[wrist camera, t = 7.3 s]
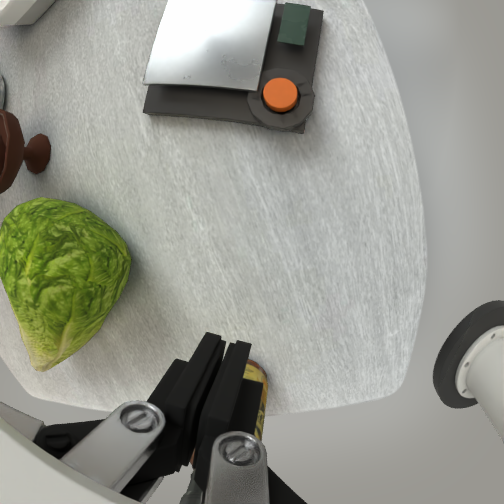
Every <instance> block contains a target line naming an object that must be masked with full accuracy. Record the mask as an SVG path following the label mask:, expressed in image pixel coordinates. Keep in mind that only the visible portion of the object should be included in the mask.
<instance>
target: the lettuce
mask: <svg viewBox="0 0 504 504" xmlns="http://www.w3.org/2000/svg"><path fill="white" fill-rule="evenodd" d="M131 260H132V259H131V256H130V254H129V251H128V248H127V245H126V243H125V242H124V240H123V239H122V238H121V237H120V235H119V234H118V233H117V232H116V231H115V230H114V229H113V228H111V227H110V226H109V225H108V224H106V223H105V222H104V221H103V220H102V219H100V218H99V217H98V216H96V215H95V214H94V213H92V212H91V211H89V210H87V209H85V208H83V207H81V206H79V205H77V204H75V203H71V202H66V201H62V200H57V199H50V198H43V197H40V198H36V199H33V200H30V201H28V202H25V203H22V204H20V205H17V206H16V207H15V208H14V209H13V210H12V211H11V212H10V213H9V214H8V215H7V216H6V217H5V218H4V221H3V223H2V226H1V229H0V277H1V280H2V283H3V285H4V288H5V290H6V292H7V295H8V298H9V301H10V304H11V307H12V309H13V312H14V314H15V317H16V319H17V321H18V324H19V328H20V333H21V338H22V340H23V342H24V344H25V346H26V349H27V351H28V354H29V357H30V361H31V365H32V366H33V367H34V369H35V370H37V371H41V372H44V371H47V370H49V369H50V368H52V367H54V366H55V365H57V364H59V363H60V362H62V361H64V360H65V359H67V358H68V357H70V356H71V355H72V354H74V353H75V352H76V351H78V350H79V349H80V348H81V347H82V346H84V345H85V344H86V343H87V342H88V341H89V340H90V339H91V338H92V337H93V336H94V335H95V334H96V333H97V332H98V330H99V329H100V328H101V326H102V324H103V322H104V320H105V318H106V316H107V315H108V313H109V311H110V310H111V308H112V307H113V306H114V304H115V303H116V301H117V300H118V299H119V297H120V296H121V294H122V291H123V289H124V287H125V285H126V283H127V281H128V276H129V271H130V265H131Z"/></svg>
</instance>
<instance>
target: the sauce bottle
mask: <svg viewBox="0 0 504 504" xmlns="http://www.w3.org/2000/svg"><path fill="white" fill-rule="evenodd" d="M243 378H246V379H250V380H254V381H258V382H263V383H264V385H263V391H262V396H261V402H260V407H259V413H258V418H257V423H256V428H255V434H254V436H255V437H256V438H258V439H259V440H260V441H262V432H263V424H264V417H265V408H266V400H267V391H268V383H267V375H266V373H265V371H264V370H263V368H262V367H260V366H259V365H258V364H257V363H256V362H254V361H252V360H249V359H248V361H247V364H246V368H245V372H244V376H243ZM194 452H195V450H194ZM194 452H193V455H192V457H191V460H190V463H191V464H192V465H193V459H194ZM193 470H194V471H193V473H192V474H191V481H190V484H189V486H188V489H187V492H186V493H185V494H184V495H183V497H182V498H181V501H180V504H200V503H201V495H202V490H201V489H200V488H199V486H198V485H197V484H196V482H195V481H194V475H195V469H193Z"/></svg>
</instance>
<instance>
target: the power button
mask: <svg viewBox="0 0 504 504" xmlns="http://www.w3.org/2000/svg"><path fill="white" fill-rule="evenodd" d="M263 95H264V99H265V102H266V104H267V106H268V107H269V108H270V109H272V110H274V111H277V112H286V111H288V110H290V109H292V108H293V107H294V106H295V104H296V101H297V88H296V86H295V85H294V84H293V83H292V82H291V81H290V80H288V79H285V78H275V79H272V80H270V81H269V82H268V83H267V84H266V85H265V87H264V90H263Z"/></svg>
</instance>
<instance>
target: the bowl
mask: <svg viewBox="0 0 504 504" xmlns="http://www.w3.org/2000/svg"><path fill="white" fill-rule="evenodd" d="M54 2H55V0H0V27H1V26H11V25H32V24H33V23H34V22H36V21H37V20H38V19H39V18H40V17H41V16H42V15H43V14H44V12H45V11H46V10H47V9H48V8H49V7H50V6H51V5H52V4H53V3H54Z"/></svg>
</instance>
